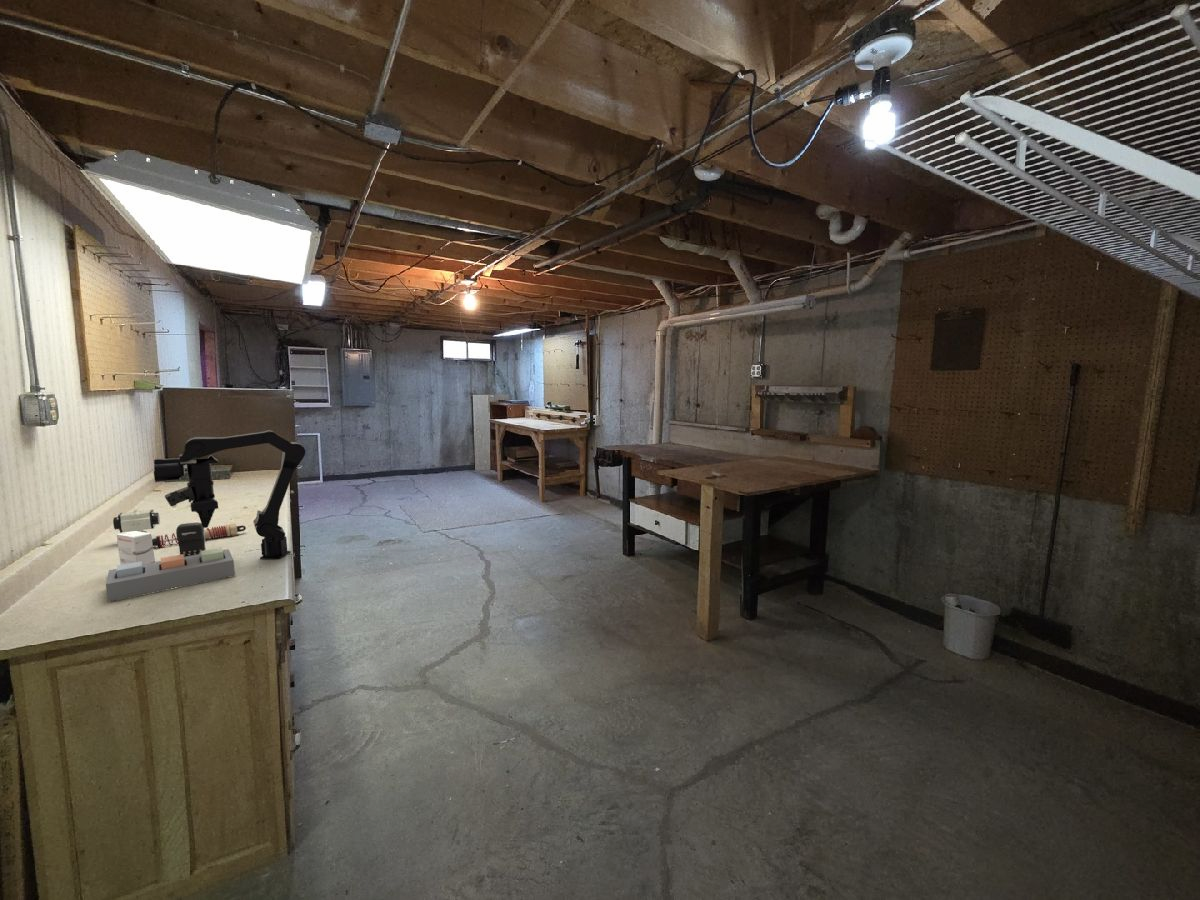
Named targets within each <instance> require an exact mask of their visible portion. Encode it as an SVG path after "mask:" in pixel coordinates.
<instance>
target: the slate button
mask: <svg viewBox="0 0 1200 900" xmlns="http://www.w3.org/2000/svg"><path fill="white" fill-rule="evenodd" d="M116 569H117V570H116V572H117V578H121V577H127V576H132V575H137V574H143V566H142V561H141V562H135V563H129V564H124V565H120V564H119V565H116Z"/></svg>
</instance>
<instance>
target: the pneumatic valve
mask: <svg viewBox="0 0 1200 900" xmlns="http://www.w3.org/2000/svg"><path fill="white" fill-rule="evenodd" d="M160 520H161V519H160V513H159V512H155V511H154V509H146V510H138V509H133V511H127V512H120V513H119V514H118V515H117V516H115V517H113V521H112V522H113V523H112V524H113V528H114V530H115V531H116V530H117V531H119V534H121V533H126V532H132V531H139V532H145V533H148V531H146V530H154V529H155V527H156V525H160V523H161V521H160Z"/></svg>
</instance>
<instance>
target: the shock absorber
mask: <svg viewBox="0 0 1200 900" xmlns="http://www.w3.org/2000/svg"><path fill="white" fill-rule="evenodd" d="M246 529H247V528H246V526H245V525H237V523H236V522H235V523H228V524H225V525H221V526H220V525H219V526H212V527H211V528H210V529H209V527H207V528H206V529H204V532H205V541H207V540H208V539H212V538H213V539H215V537H216V539H218V538H219V537H220V538H223V537H224V536H225V537H226V536H230V535H236V536H238V533H240V532H244V531H245V530H246ZM171 535H172V536H171V538H169V536H168V534H167V533H166V534H165V535H164V537H163V534H161V535H159V534H158V535H156V536H155V538H152V543H153V547H157V548H158V547H159V548H163V546H164V545H165V546H166V542H168V544H169V546H170V545H171V543H173V542H175V544H176V545H177V544H178V541H177V536H176V534H175V533H174V532H173V533H172V534H171ZM230 537H231V536H230ZM206 539H207V540H206ZM213 539H212V540H213ZM162 545H163V546H162Z"/></svg>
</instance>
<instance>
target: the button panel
mask: <svg viewBox="0 0 1200 900" xmlns="http://www.w3.org/2000/svg"><path fill="white" fill-rule="evenodd" d="M222 550H223V556H224V558H223V559H218V560H213V561H207V562H202V560H201V554H198V555H192V556H186V557H184V562H185V566H180V567H175V568H170V569H164V570H162V567H161V560H159V561H155V562H152V563H147V564H142V566H143V574H137V575H132V576H127V577H121V578H117V572H116V570H117V568H115V569H114V568H113V569H109V570H108V573H107V575H106V576H107V577H106V580H105V589H106V596H107V602H108V603H110V602H109V601H112V602H115V601H114V600H116V601H120V600H119V599H121V600H125V599H124V598H126V599H130V598H129V597H131V598H135V597H134V596H136V597H139V596H138V595H140V596H144V595H143V594H145V595H149V594H148V593H150V594H153V593H152V592H155V593H158V592H157V591H160V592H163V591H162V590H164V591H167V590H166V589H169V590H172V589H171V588H174V589H176V588H175V587H179V588H181V587H180V586H184V587H186V586H185V585H189V586H192V585H191V584H193V585H196V584H195V583H198V584H201V582H203V583H206V582H205V581H208V582H211V581H210V580H213V581H216V580H215V579H217V580H221V579H220V578H222V579H225V578H224V577H227V578H230V577H229V576H232V577H235V576H236V573H235V572H236V570H235V562H234V561H235V560H234V558H233V556H232V553H231V552H230V550H229V548H227V549H222ZM234 575H235V576H234Z"/></svg>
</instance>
